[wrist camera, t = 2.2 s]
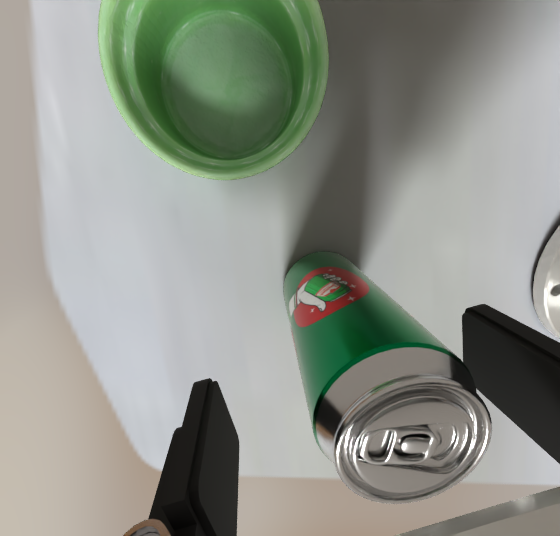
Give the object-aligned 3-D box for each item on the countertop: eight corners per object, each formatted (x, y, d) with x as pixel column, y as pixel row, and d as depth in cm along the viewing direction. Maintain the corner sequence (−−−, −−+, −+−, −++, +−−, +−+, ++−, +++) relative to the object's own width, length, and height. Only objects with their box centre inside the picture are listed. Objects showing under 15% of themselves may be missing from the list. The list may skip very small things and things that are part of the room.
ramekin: (172, -50, 13) (131, -157, 9) (338, 45, 15) (369, -7, 11) (123, 139, 15) (73, 123, 11) (272, 204, 17) (277, 212, 13)
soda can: (348, 321, 20) (471, 514, 8) (278, 316, 19) (307, 514, 8) (363, 253, 18) (537, 373, 7) (287, 245, 18) (339, 362, 6)
